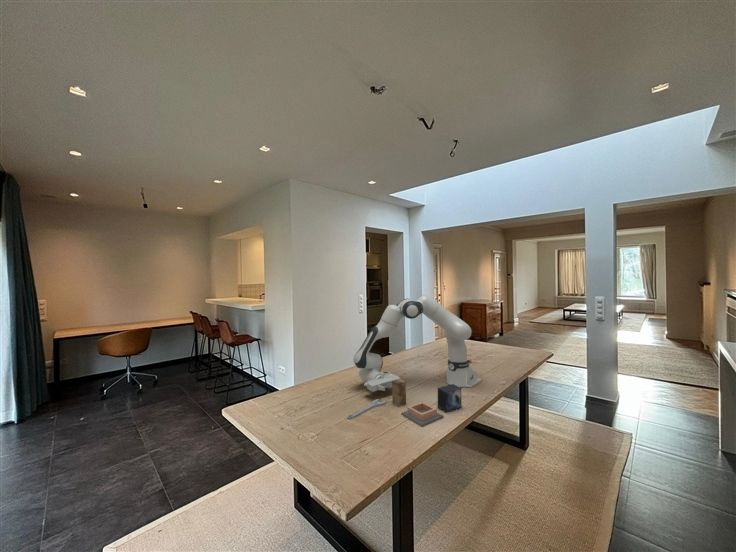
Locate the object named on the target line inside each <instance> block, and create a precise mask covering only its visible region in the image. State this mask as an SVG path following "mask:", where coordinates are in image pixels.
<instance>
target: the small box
mask: <svg viewBox="0 0 736 552" xmlns="http://www.w3.org/2000/svg"><path fill="white" fill-rule="evenodd" d="M462 407H463V406H462V387H458V386H456V385H454V384H451V385H449V384H448V385H444V386H443V385H442V386H438V387H437V409H439V410H440V411H442V412H444V413H449V412H453V410H454V411H456V409H457V410H460V408H461V409H462Z"/></svg>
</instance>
